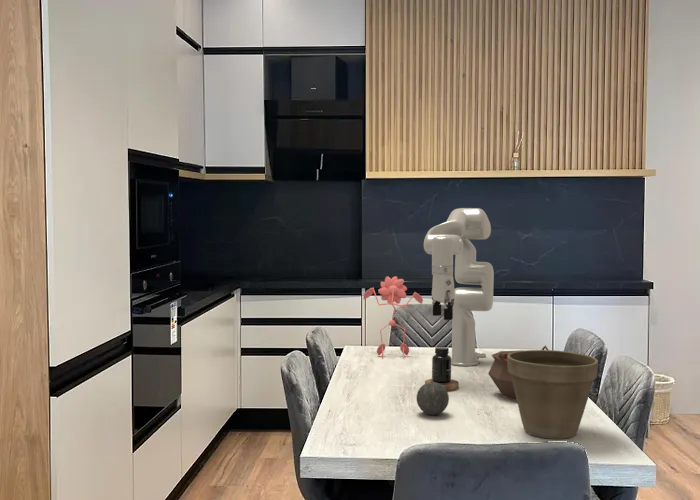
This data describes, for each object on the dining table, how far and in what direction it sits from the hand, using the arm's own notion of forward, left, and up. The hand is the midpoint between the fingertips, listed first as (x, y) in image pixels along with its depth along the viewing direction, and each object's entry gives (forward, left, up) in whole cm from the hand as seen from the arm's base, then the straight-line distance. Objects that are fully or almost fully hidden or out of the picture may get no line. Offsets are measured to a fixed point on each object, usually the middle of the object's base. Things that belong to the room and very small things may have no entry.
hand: (442, 317), depth 264 cm
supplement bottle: (+2, +3, -23) cm, 23 cm away
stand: (+2, +3, -25) cm, 25 cm away
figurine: (-2, -58, -25) cm, 63 cm away
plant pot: (-6, +61, -25) cm, 66 cm away
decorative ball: (+19, +34, -25) cm, 46 cm away
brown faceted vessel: (-20, +22, -25) cm, 39 cm away
